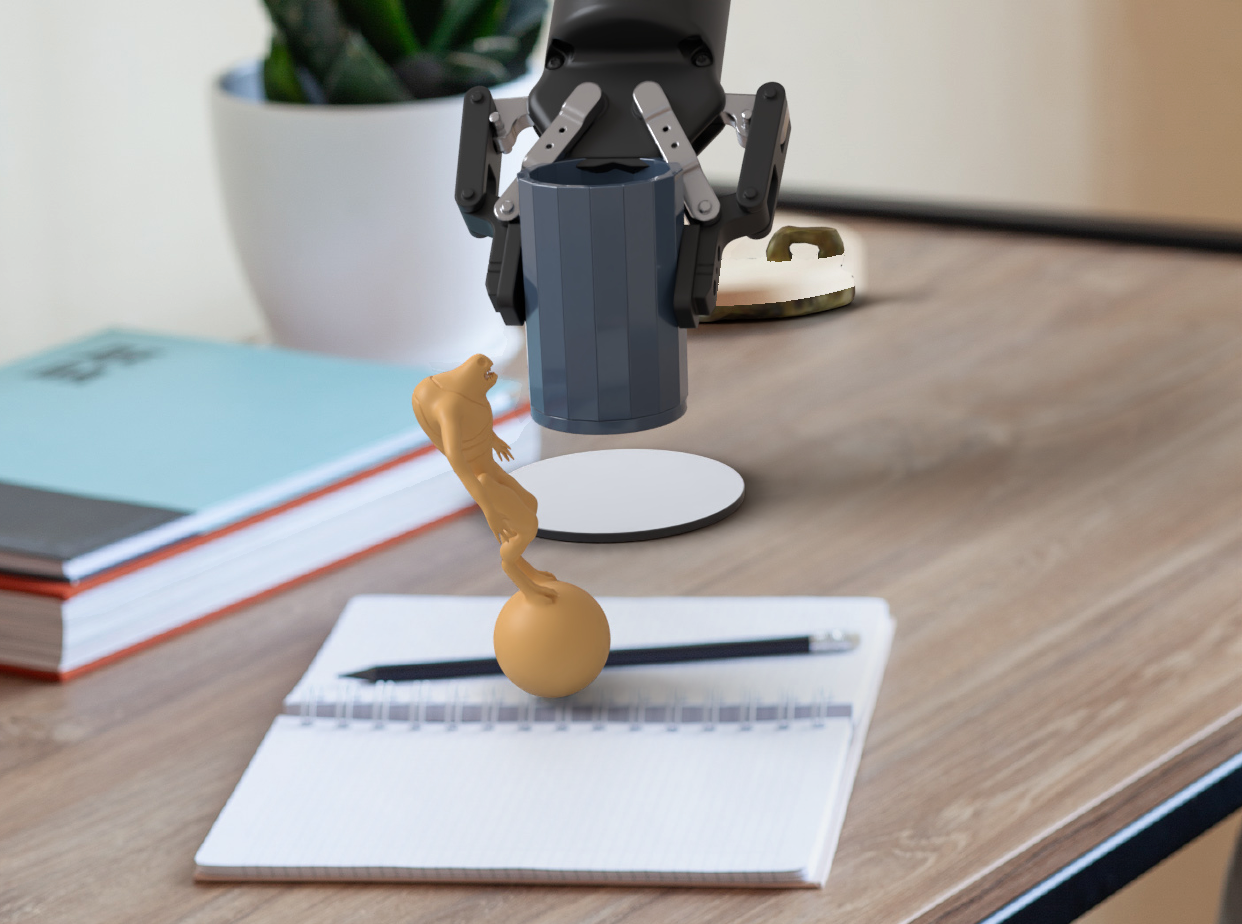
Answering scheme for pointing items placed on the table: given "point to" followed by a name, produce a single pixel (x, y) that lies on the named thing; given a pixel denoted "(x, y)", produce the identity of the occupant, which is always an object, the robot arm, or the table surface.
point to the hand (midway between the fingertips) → (597, 317)
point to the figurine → (513, 542)
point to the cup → (602, 296)
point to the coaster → (629, 494)
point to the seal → (780, 251)
